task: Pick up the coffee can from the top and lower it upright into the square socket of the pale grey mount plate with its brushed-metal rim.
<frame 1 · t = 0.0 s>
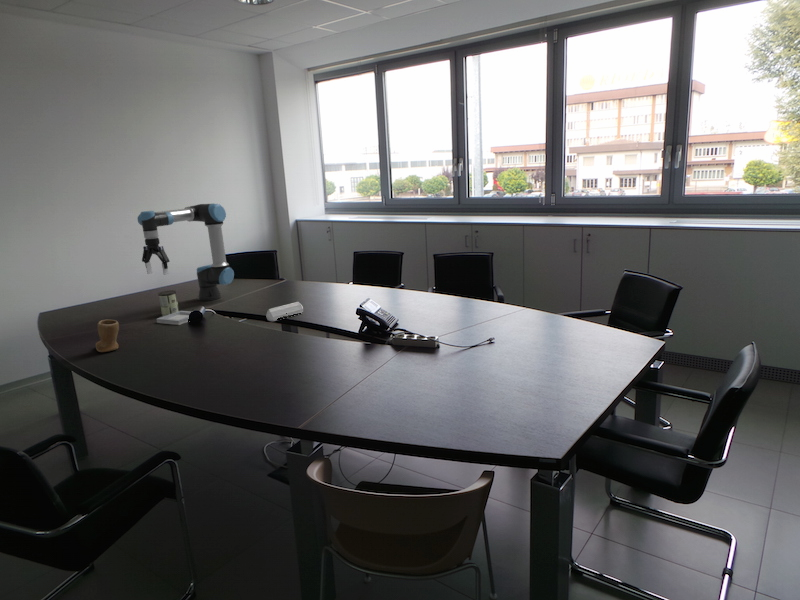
hand: (157, 273, 309), 28 cm above the table, tool pointing down, fingers open, 13 cm apart
stone cup: (110, 349, 266), on the table
crystal: (285, 317, 307), on the table
coffee can: (170, 314, 328), on the table
mount plate: (180, 319, 314), on the table
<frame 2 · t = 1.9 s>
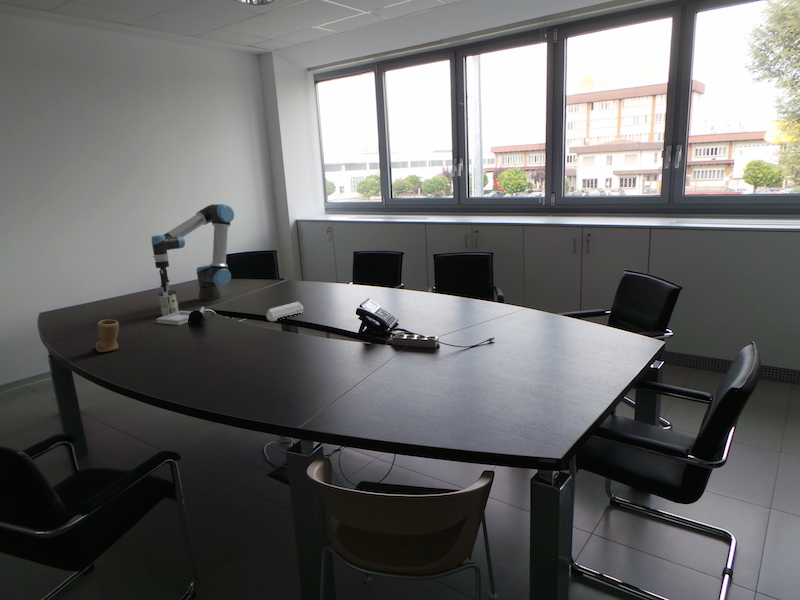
hand: (166, 294, 325), 13 cm above the table, tool pointing down, fingers open, 13 cm apart
nothing on the table moved.
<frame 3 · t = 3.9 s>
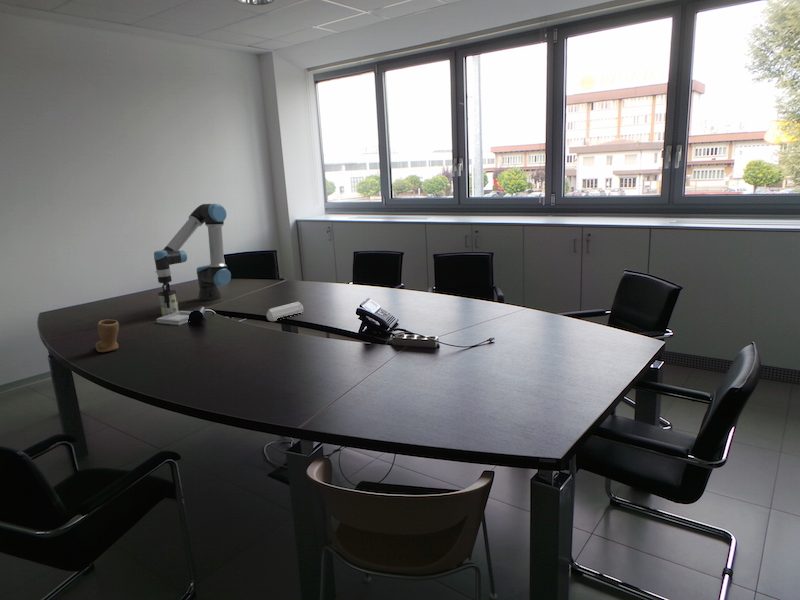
hand: (170, 310, 328), 2 cm above the table, tool pointing down, fingers closed on coffee can, 10 cm apart
coffee can: (170, 314, 328), on the table, touching gripper
everything else where it was.
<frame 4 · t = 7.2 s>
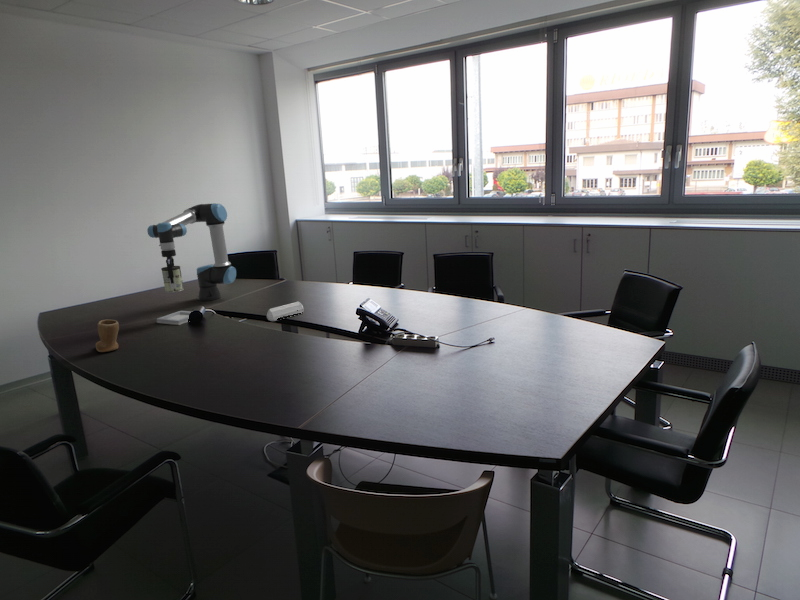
hand: (174, 287, 309), 20 cm above the table, tool pointing down, fingers closed on coffee can, 10 cm apart
coffee can: (174, 291, 310), point 18 cm above the table, touching gripper
everything else where it was.
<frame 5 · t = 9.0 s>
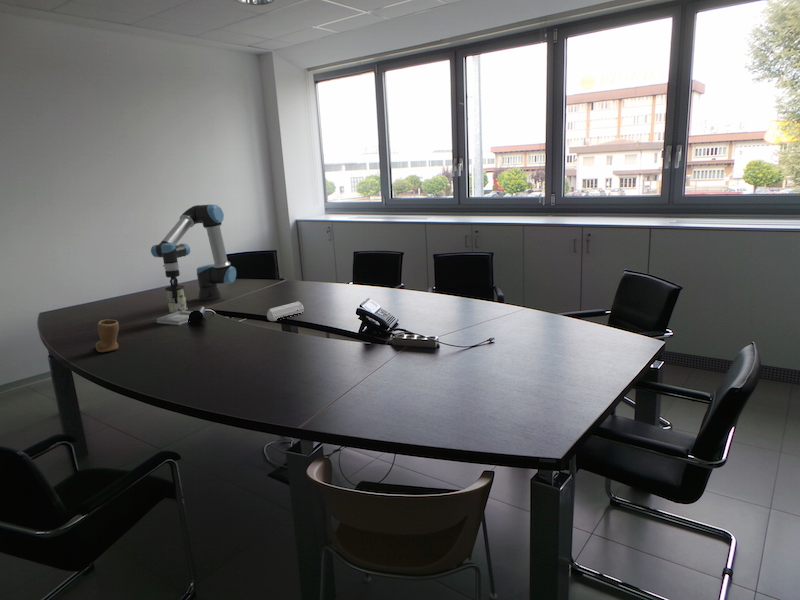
hand: (177, 306, 312), 8 cm above the table, tool pointing down, fingers closed on coffee can, 10 cm apart
coffee can: (178, 310, 312), point 6 cm above the table, touching gripper
everything else where it was.
when the fingers open (5 cm above the table, at t = 10.6 s): coffee can drops 1 cm, resting on mount plate.
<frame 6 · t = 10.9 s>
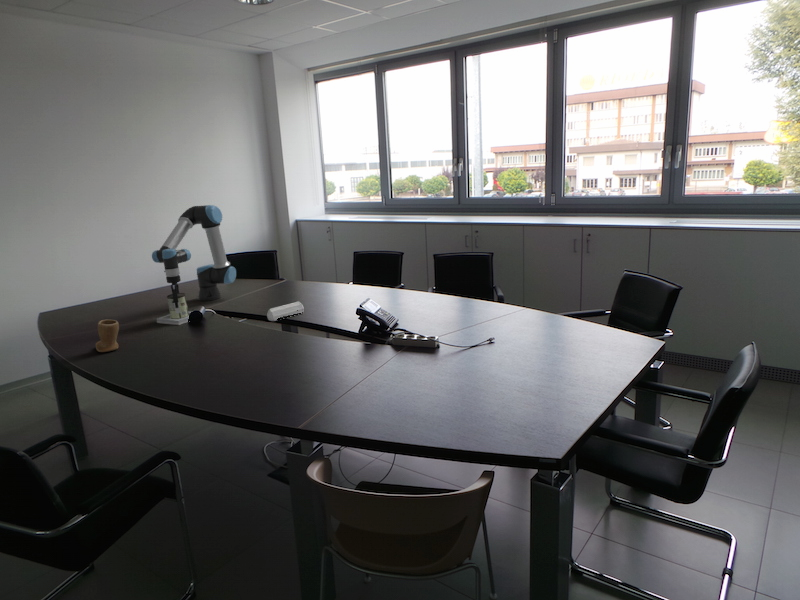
hand: (178, 310, 313), 6 cm above the table, tool pointing down, fingers open, 13 cm apart
coffee can: (179, 318, 314), point 1 cm above the table, touching mount plate
everything else where it was.
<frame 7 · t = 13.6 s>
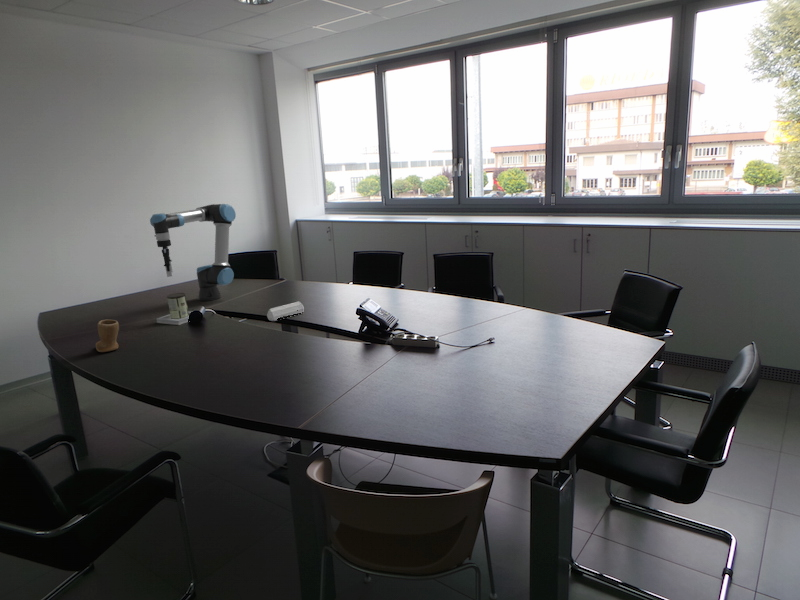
hand: (170, 274, 319), 26 cm above the table, tool pointing down, fingers open, 13 cm apart
nothing on the table moved.
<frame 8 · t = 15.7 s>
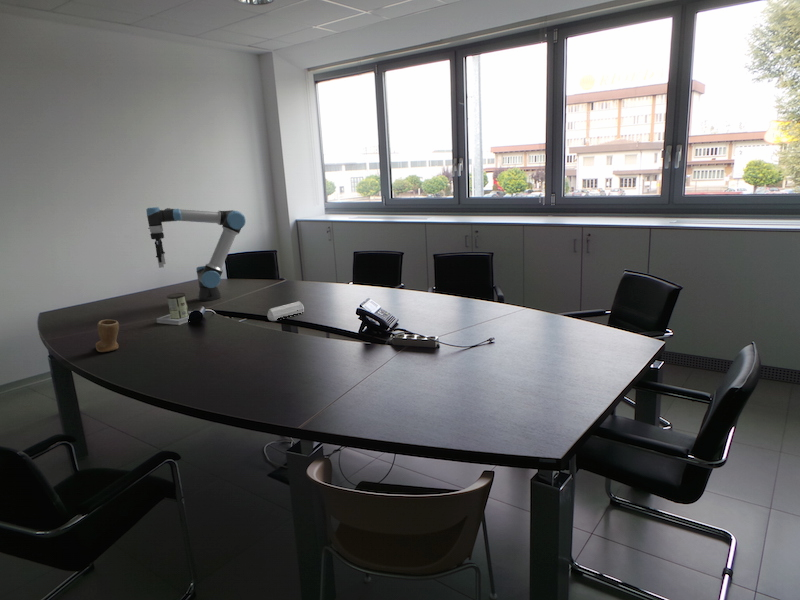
hand: (162, 265, 334), 29 cm above the table, tool pointing down, fingers open, 13 cm apart
nothing on the table moved.
at the end: coffee can 0.6 cm off-centre on the mount plate, point 0.8 cm above the mount plate's base; coffee can tilted 0°; the gripper is holding nothing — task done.
